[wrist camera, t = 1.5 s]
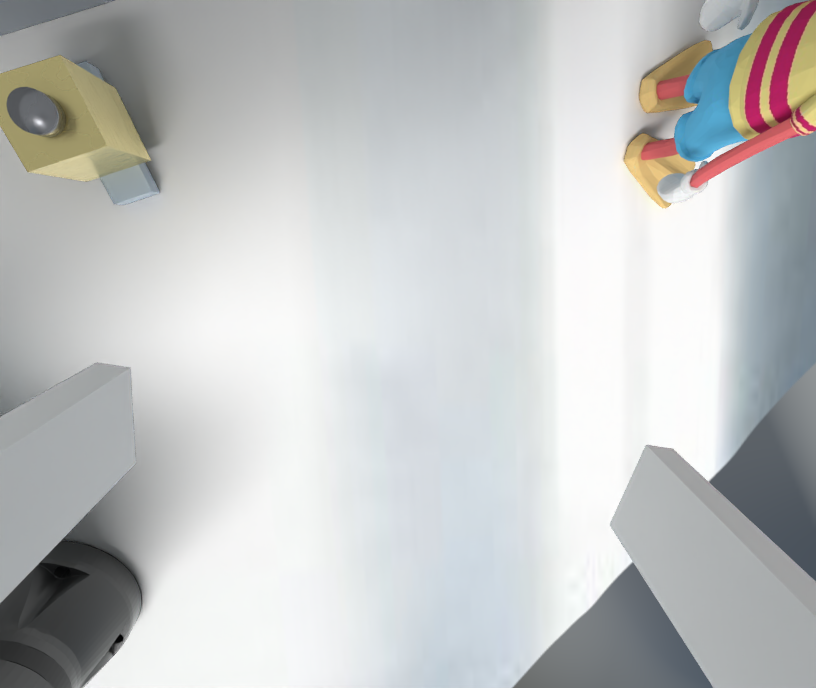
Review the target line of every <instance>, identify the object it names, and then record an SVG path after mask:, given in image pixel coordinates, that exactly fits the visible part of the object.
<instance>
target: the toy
mask: <svg viewBox="0 0 816 688" xmlns="http://www.w3.org/2000/svg"><path fill="white" fill-rule="evenodd" d="M758 2H759V0H706V1H705V3H704V4H703V6H702V8H701V11H700V18H699V24H700V25H701V27H702V28H703V29H704V30H706V31H714V30H718V29H720V28H721V27H723V26H724V25H726V24H727V23H729V22H730V21H732V20H734V19H735V18H737V17H738V16H740V19H739V23H738V29H741V30H742V29H744V28H745V27H746V26H747V25H748V24H749V22H750V20H751V18H752V16H753V14H754V12H755V10H756V7H757V5H758ZM639 100H640V103H641V105H642V108H643V110H644V111H645V112H646V113H654V112H663V111H670V110H676V109H683V108H688V107H693V106H697V107H696V108H695V110H694V111H692V112H689V113H686V114H683V115H682V116H681V117H680V119H679V120H678V122H677V125H676V127H675V133H674V138H671V139H666V140H660V141H659V140H657V139H655V138H653V137H650V136H649V135H648V134H644V133H642V134H640V135H639V136H638V137H636V138H635V139H634V140H633V141H632V142H631V143H630V144H629V146H628V148H627V151H626V155H625V158H624V162H625V164H626V166H627V167H628V169H629V171H630V172H631V173H632V175H633V176H634V177H635V178H636V180H637V181H638V182H639V183H640V185H641V186H642V187H643V188H644V190H645V191H646V192H647V194H648V195H649V196H650V197H651V198H652V199H653V200H654V201H655V202H656V203H657V204H658V205H659V206H660V207H662V208H667V207H669V206H670V205H671V204H672V203H673V204H674V203H679V202H683V201H686V200H688V199H690V198H691V197H692V196H693V195H694V194H697V193H700V192H702V191H703V190H704V189H705V188H706V186H707V185H708V180H709V179H711V178H713V177H715V176H716V175H718V174H720V173H721V172H723V171H725V170H727V169H728V168H730V167H732V166H734V165H736V164H738V163H740V162H741V161H743V160H745V159H747V158H749V157H751V156H753V155H755V154H757V153H759V152H761V151H763V150H765V149H767V148H769V147H771V146H773V145H775V144H777V143H780V142H782V141H784V140H786V139H788V138H793V137H796V136H800V135H802V136H804V135H809V134H810V133H812V132H814V131H815V130H816V0H809V1H805V2H801V3H796V4H793V5H791V6H788V7H786V8H784V9H783V10H781V11H778V12H775V13H773V14H771V15H770V16H768V17H767V18H766V19H765V20H764V21H762V22H761V23H760V24H759V25H758V27H757V28H756V29H755V31H754V32H753V33H751V34H748V35H746V36H743V37H741V38H739V39H736V40H734V41H733V42H731V43H730V44H728V45H726V46H725V47H723V48H721V49H718V50H713V49H712V44H711V41H707V40H704V41H702V42H699V43H697V44H695V45H693V46H691V47H690V48H688V49H686V50H684V51H683V52H681V53H680V54H678V55H677V56H675V57H674V58H672V59H671V60H669V61H668V62H666V63H665V64H663V65H662V66H660V67H659V68H657V69H656V70H654V71H653V72H652V73H650V74H649V75H648V76H647V77H645V78H644V79H643V80H642V81H641V87H640V93H639ZM747 140H748V141H747ZM741 141H746V142H744V143H742V144H740V145H739V146H737V147H735V148H733V149H731V150H729V151H727V152H725V153H724V154H722V155H720V156H718V157H716V158H715V159H713V160H712V161H710V162H709V163H708V162H707V161H703V162H701V164H700V166H699V169H695V170H694V167H695V162H697V161H702V160H704V159H706V158H708V157H710V156H711V155H712V154H713V152H714V151H716V150H718V149H720V148H722V147H724V146H727V145H730V144H733V143H737V142H741Z"/></svg>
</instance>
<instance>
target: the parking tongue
mask: <svg viewBox="0 0 816 688" xmlns="http://www.w3.org/2000/svg"><path fill="white" fill-rule="evenodd" d="M76 65H78V66H79V67H81V68H83V69H84V70H86V71H88V72H89V73H91V74H93V75H94V76H96V77H98V78H100V79H101V80H103V81H104V79H103V77H102V75H101V73H100V71H99V69H98V68H96V67H95V66H93V65H91V64H90V63H88V62H87V61H85V62H82V63H79V64H76ZM100 179H101V181H102V183H103V185H104V186H105V188H106V190H107V192H108V194H109V196H110V198H111V199H112V201H113V203H114V204H118V205H126V204H129V203H132V202H135V201H138V200H141V199H144V198H147V197H150V196H152V195H155V194H158V193H160V191H159V189H158V187H157V185H156V183H155V181H154V179H153V177H152V175H151V173H150V171H149V169H148V167H147V165H146V163H142V164H139V165H136V166H133V167H130V168H127V169H124V170H121V171H118V172H115V173H112V174H109V175H106V176H103V177H100Z"/></svg>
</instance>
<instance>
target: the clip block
mask: <svg viewBox="0 0 816 688" xmlns="http://www.w3.org/2000/svg"><path fill="white" fill-rule="evenodd" d="M0 126H1V128H2V130H3V131H4V133H5V135H6V136H7V138H8V140H9V142H10V143H11V145H12V147H13V148H14V150H15V152H16V153H17V155H18V157H19V158H20V160H21V162H22V163H23V165H24V167H25V169H26V170H27V172H30V173H36V174H42V175H48V176H54V177H61V178H67V179H73V180H79V181H85V182H87V181H90V180H94V179H97V178H100V177H103V176H106V175H109V174H112V173H115V172H118V171H121V170H124V169H127V168H130V167H133V166H136V165H139V164H142V163H145V162H148V161H151V159H150V157H149V155H148V153H147V151H146V149H145V147H144V145H143V143H142V141H141V139H140V137H139V135H138V133H137V131H136V129H135V127H134V125H133V123H132V121H131V118H130V116H129V114H128V112H127V110H126V108H125V106H124V104H123V102H122V100H121V98H120V96H119V94H118V92H117V90H116V88H115V87H113V86H111V85H110V84H108V83H106V82H105V81H103V80H101V79H100V78H98V77H96V76H94V75H93V74H91V73H89V72H88V71H86V70H84V69H83V68H81V67H79V66H78V65H76V64H74V63H73V62H71V61H69V60H68V59H66V58H64V57H63V56H61V55H58V56H55V57H52V58H49V59H45V60H42V61H39V62H36V63H33V64H30V65H26V66H23V67H20V68H17V69H14V70H10V71H7V72H4V73H1V74H0Z"/></svg>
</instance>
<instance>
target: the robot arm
mask: <svg viewBox="0 0 816 688" xmlns="http://www.w3.org/2000/svg"><path fill="white" fill-rule="evenodd" d="M135 464H136V453H135V436H134V420H133V403H132V386H131V369H130V367H123V366H116V365H110V364H103V363H95V364H93V365H91V366H90V367H88V368H86V369H84V370H82V371H81V372H79V373H77V374H75V375H74V376H72V377H70V378H68V379H66V380H65V381H63V382H61V383H59V384H58V385H56V386H54V387H52V388H50V389H49V390H47V391H45V392H43V393H42V394H40V395H38V396H36V397H35V398H33V399H31V400H29V401H27V402H26V403H24V404H22V405H20V406H19V407H17V408H15V409H13V410H11V411H10V412H8V413H6V414H4V415H3V416H1V417H0V688H84V687H85V686H86V685H87V684H88V683H89V681H90V680H91V679H92V678H93V677H94V676H95V675H96V674H97V673H98V672H99V671H100V670H101V669H102V668H103V667H104V665H105V664H106V663H107V662H108V661H109V660H110V659H111V658H112V657H113V656H114V655H115V654H116V653H117V652H118V650H119V649H120V648H121V647H122V645H123V644H124V643H125V641H126V640H127V638H128V636H129V634H130V632H131V630H132V628H133V626H134V624H135V623H136V621H137V619H138V616H139V613H140V609H141V593H140V589H139V586H138V584H137V582H136V580H135V578H134V577H133V575H132V574H131V573H130V571H129V570H128V569H127V568H126V567H125V566H124V565H123V564H122V563H121V562H119V561H118V560H117V559H115V558H114V557H112V556H111V555H109V554H107V553H105V552H103V551H101V550H99V549H96V548H93V547H91V546H87V545H84V544H80V543H75V542H68V541H61V540H62V539H63V538H64V537H65V536H66V535H67V534H68V533H69V532H70V531H71V530H72V529H73V528H74V527H75V526H76V525H77V524H78V523H79V522H80V520H81V519H82V518H83V517H84V516H85V515H86V514H87V513H88V512H89V511H90V510H91V509H92V508H93V507H94V506H95V505H96V504H97V503H98V502H99V501H100V500H101V499H102V498H103V497H104V496H105V495H106V494H107V493H108V492H109V491H110V489H111V488H112V487H113V486H114V485H115V484H116V483H117V482H118V481H119V480H120V479H121V478H122V477H123V476H124V475H125V474H126V473H127V472H128V471H129V470H130V469H131V468H132V467H133V466H134V465H135ZM610 526H611V528H612V529H613V531H614V533H615V534H616V536H617V537H618V539H619V540H620V542H621V544H622V545H623V547H624V548H625V550H626V551H627V553H628V554H629V556H630V558H631V559H632V561H633V562H634V564H635V565H636V567H637V568H638V570H639V572H640V573H641V575H642V576H643V578H644V579H645V581H646V583H647V584H648V586H649V587H650V589H651V590H652V592H653V594H654V595H655V597H656V598H657V600H658V601H659V603H660V605H661V606H662V608H663V609H664V611H665V612H666V614H667V616H668V617H669V619H670V620H671V622H672V623H673V625H674V627H675V628H676V630H677V631H678V633H679V634H680V636H681V638H682V639H683V640H684V642H685V644H686V645H687V647H688V648H689V650H690V651H691V653H692V655H693V656H694V658H695V659H696V661H697V663H698V664H699V666H700V667H701V669H702V670H703V672H704V674H705V675H706V677H707V678H708V680H709V681H710V683H711V684H712V686H713V687H714V688H816V582H815V581H814V580H813V579H812V578H811V577H810V576H809V575H808V574H807V573H806V572H805V571H803V569H801V568H800V567H799V566H798V565H797V564H796V563H795V562H794V561H793V560H792V559H791V558H790V557H789V556H788V555H786V554H785V553H784V552H783V551H782V550H781V549H780V548H779V547H778V546H777V545H776V544H775V543H774V542H772V541H771V540H770V539H769V538H768V537H767V536H766V535H765V534H764V533H763V532H761V530H760V529H758V528H757V527H756V526H755V525H754V524H753V523H752V522H751V521H750V520H749V519H748V518H747V517H746V516H745V515H743V514H742V513H741V512H740V511H739V510H738V509H737V508H736V507H735V506H734V505H733V504H732V503H731V502H729V501H728V500H727V499H726V498H725V497H724V496H723V495H722V494H721V493H720V492H719V491H718V490H717V489H715V488H714V487H713V486H712V485H711V484H710V483H709V482H708V481H707V480H706V479H705V478H704V477H703V476H702V475H700V474H699V473H698V472H697V471H696V470H695V469H694V468H693V467H692V466H691V465H690V464H689V463H688V462H686V461H685V460H684V459H683V458H682V457H681V456H680V455H679V454H678V453H677V452H676V451H675V450H674V449H671V448H664V447H657V446H651V445H646V446H645V448H644V450H643V453H642V455H641V457H640V459H639V461H638V464H637V466H636V468H635V470H634V472H633V474H632V477H631V479H630V481H629V483H628V485H627V488H626V490H625V492H624V494H623V496H622V499H621V501H620V503H619V505H618V507H617V510H616V512H615V514H614V516H613V518H612V521H611V523H610Z"/></svg>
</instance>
